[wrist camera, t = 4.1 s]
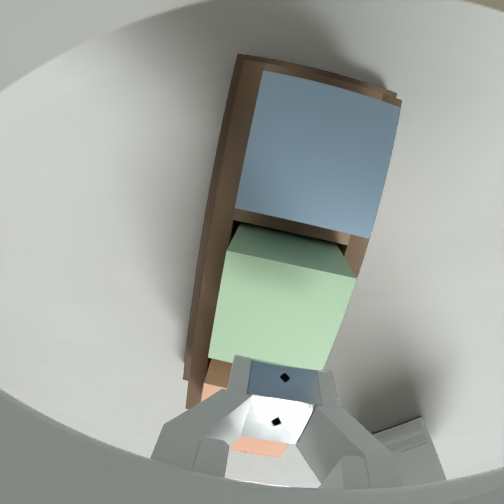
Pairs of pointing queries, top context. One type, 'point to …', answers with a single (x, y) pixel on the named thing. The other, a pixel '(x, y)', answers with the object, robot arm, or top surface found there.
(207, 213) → the divided box
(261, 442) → the terracotta block
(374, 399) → the top surface
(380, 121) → the blue block
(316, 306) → the sage block
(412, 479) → the supplement box
